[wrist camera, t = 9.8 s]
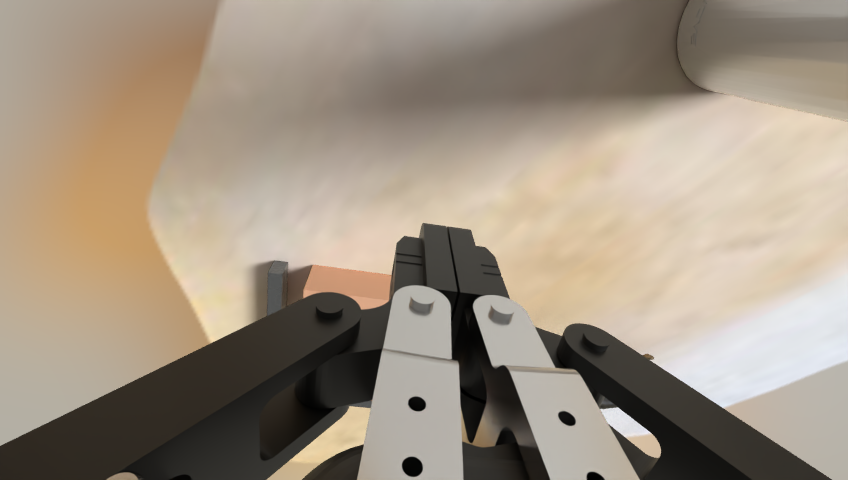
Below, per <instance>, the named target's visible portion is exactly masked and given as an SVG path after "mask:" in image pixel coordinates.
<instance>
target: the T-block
mask: <svg viewBox="0 0 848 480" xmlns="http://www.w3.org/2000/svg"><path fill="white" fill-rule="evenodd" d="M391 276H392V275H387V274H379V273H372V272H364V271H356V270H349V269H341V268H334V267H326V266H319V265H313V266H312V269H311V271H310V274H309V277H308V279H307V282H306V285H305V287H304V291H303V298H305V297H307V296H310V295H312V294H316V293H321V292H335V293H340V294H344V295H346V296H349V297H351V298H352V299H354V300H355V301H356V302H357V303H358V304H359V306H360V308H361V310H362V309H371V308H376V307H379V306H382V305H384V304H385V303H387V302H388V301H389V293H390V282H391Z"/></svg>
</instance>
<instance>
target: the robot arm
mask: <svg viewBox="0 0 848 480" xmlns="http://www.w3.org/2000/svg"><path fill="white" fill-rule="evenodd" d="M677 50H678V58H679V61H680V64H681V67H682V69H683V71H684V72H685V74H686V76H687V77H688V78H689V79H690V80H691V81H692V82H693V83H694V84H695V85H697V86H699V87H701V88H703V89H705V90H709V91H714V92H718V93H723V94H727V95H731V96H736V97H740V98H744V99H748V100H752V101H757V102H761V103H766V104H770V105H775V106H779V107H784V108H788V109H793V110H797V111H802V112H807V113H811V114H816V115H820V116H825V117H829V118H834V119H838V120H843V121H847V122H848V0H689V2H688V4H687V6H686V8H685V10H684V12H683V16H682V19H681V22H680V25H679V30H678V38H677ZM604 398H607V399H608V400H609V401H610V402H612V403H613V404H614V405H616V406H617V407H618V408H620V409H621V410H622V411H624V412H625V413H626V414H627V415H629V416H630V417H631V418H633V419H634V420H635V421H637V422H638V423H639V424H640V425H642V426H643V427H644V428H646V429H647V430H648V431H650V432H651V433H652V434H653V435H654V436H655V437H656V438H657V440H658V442H659V444H660V447H661V456H660V458H654V457H651V456H648V455H647V454H645V453H644V452H642V451H641V450H640V449H639V448H637V447H636V446H635V445H634V444H632V443H631V442H630V441H629V440H628V439H626V438H625V437H624V436H623V435H621V434H620V433H619V432H618V431H616V430H615V429H614V428H613V427H611V426H610V425H609V424H608V423H607V421H606V419H605V417H604V416H603V414H602V412H601V410H600V409H599V407H600V405H601V403H602V401H603V400H604ZM367 401H372V405H371V410H370V416H369V421H368V426H367V431H366V436H365V441H364V445H360V446H357V447H353V448H350V449H348V450H345V451H343V452H341V453H338V454H336V455H335V456H333V457H331V458H329V459H328V460H326V461H324V462H323V463H321V464H320V465H319V466H317V467H316V468H315V469H313V470H312V471H311V472H310V473H309V474H308V475H306V476H305V478H303V479H302V480H832V479H830V478H829V477H827V476H826V475H824V474H822V473H821V472H819V471H818V470H816V469H815V468H813V467H812V466H810V465H809V464H807V463H806V462H804V461H803V460H801V459H799V458H798V457H797V456H795V455H793V454H792V453H790V452H789V451H787V450H786V449H784V448H783V447H781V446H780V445H778V444H777V443H775V442H773V441H772V440H771V439H769V438H767V437H766V436H764V435H763V434H761V433H760V432H758V431H757V430H755V429H754V428H752V427H751V426H749V425H748V424H746V423H745V422H743V421H742V420H740V419H738V418H737V417H735V416H734V415H732V414H731V413H729V412H728V411H726V410H725V409H723V408H722V407H720V406H719V405H717V404H716V403H714V402H713V401H711V400H709V399H708V398H706V397H705V396H703V395H702V394H700V393H699V392H697V391H696V390H694V389H693V388H691V387H690V386H688V385H687V384H685V383H684V382H682V381H680V380H679V379H677V378H676V377H674V376H673V375H671V374H670V373H668V372H667V371H665V370H664V369H662V368H661V367H659V366H658V365H656V364H654V363H653V362H651V361H650V360H648V359H647V358H645V357H644V356H642V355H641V354H639V353H638V352H636V351H635V350H633V349H632V348H630V347H629V346H627V345H625V344H624V343H622V342H621V341H619V340H618V339H616V338H615V337H613V336H612V335H610V334H609V333H607V332H605V331H604V330H602V329H599V328H597V327H595V326H591V325H587V324H580V323H579V324H571V325H569V326H568V327H566V329H565V331H564V333H563V335H562V336H560V335H557V334H554V333H551V332H548V331H545V330H542V329H539V328H537V327H535V326H534V325H533V323H532V321H531V319H530V317H529V315H528V313H527V311H526V310H525V309H524V308H523V307H522V306H521V305H519V304H518V303H516V302H515V301H513V300H511V299H510V298H509V295H508V292H507V290H506V287H505V284H504V281H503V278H502V277H501V273H500V270H499V268H498V264H497V261H496V259H495V256H494V255H493V254H492V253H491V252H490V251H489V250H488V249H486V248H485V247H480V246H475V242H474V239H473V235H472V232H471V230H468V229H462V228H455V227H448V226H447V228H446V226H440V225H433V224H426V223H422V226H421V231H420V236H419V238H415V237H407V236H404V237H403V238H402V239H401V240H400V241H399V242H398V243H397V245H396V252H395V258H394V264H393V270H392V276H391V282H390V293H389V301H388V302H387V303H385V304H384V305H382V306H379V307H376V308H371V309H362V310H361V308H360V306H359V304H358V303H357V302H356V301H355V300H354V299H352V298H351V297H349V296H346V295H344V294H340V293H335V292H321V293H316V294H312V295H310V296H307V297H305V298H303V299H301V300H299V301H297V302H295V303H293V304H291V305H289V306H287V307H285V308H283V309H281V310H279V311H277V312H275V313H272V314H270V315H268V316H266V317H264V318H262V319H260V320H258V321H256V322H254V323H252V324H250V325H248V326H246V327H244V328H242V329H240V330H238V331H236V332H233V333H231V334H229V335H227V336H225V337H223V338H221V339H219V340H217V341H215V342H213V343H211V344H209V345H207V346H205V347H203V348H201V349H199V350H196V351H194V352H193V353H190V354H188V355H187V356H184V357H182V358H180V359H178V360H176V361H174V362H172V363H170V364H168V365H166V366H164V367H162V368H159V369H158V370H156V371H153V372H152V373H149V374H147V375H145V376H143V377H141V378H139V379H137V380H135V381H133V382H131V383H129V384H127V385H125V386H122V387H120V388H118V389H116V390H114V391H112V392H110V393H108V394H106V395H104V396H102V397H100V398H98V399H96V400H94V401H92V402H90V403H88V404H86V405H83V406H81V407H79V408H77V409H75V410H73V411H71V412H69V413H67V414H65V415H63V416H61V417H59V418H57V419H55V420H53V421H51V422H49V423H47V424H44V425H42V426H40V427H39V428H36V429H34V430H32V431H30V432H28V433H26V434H24V435H22V436H20V437H18V438H16V439H14V440H12V441H10V442H7V443H5V444H3V445H1V446H0V480H266V479H267V478H269V477H270V476H271V475H272V474H274V473H275V472H276V471H277V470H278V469H280V468H281V467H282V466H283V465H284V464H286V463H287V462H288V461H289V460H290V459H292V458H293V457H294V456H295V455H296V454H298V453H299V452H300V451H301V450H303V449H304V448H305V447H306V446H307V445H309V444H310V443H311V442H312V441H313V440H315V439H316V438H317V437H318V436H319V435H321V434H322V433H323V432H324V431H325V430H327V429H328V428H329V427H330V426H332V425H333V424H334V423H335V422H336V421H338V420H339V419H340V418H341V417H342V416H343V415H344V414H345V413H346V412H347V410H348V408H349V405H351V404H356V403H361V402H367Z"/></svg>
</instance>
